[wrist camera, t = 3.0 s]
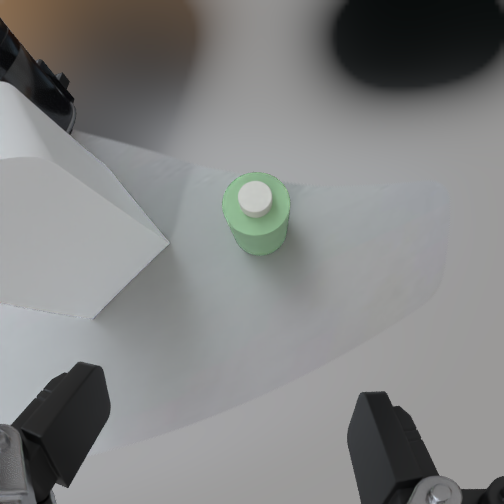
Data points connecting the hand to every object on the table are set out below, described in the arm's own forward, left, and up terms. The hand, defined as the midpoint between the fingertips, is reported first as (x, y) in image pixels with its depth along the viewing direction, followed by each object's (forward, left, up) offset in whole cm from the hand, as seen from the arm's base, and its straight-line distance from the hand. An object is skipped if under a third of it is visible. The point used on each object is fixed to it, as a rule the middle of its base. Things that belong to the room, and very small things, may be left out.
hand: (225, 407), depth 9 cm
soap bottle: (-11, 0, -20) cm, 23 cm away
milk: (-10, -17, -20) cm, 28 cm away
